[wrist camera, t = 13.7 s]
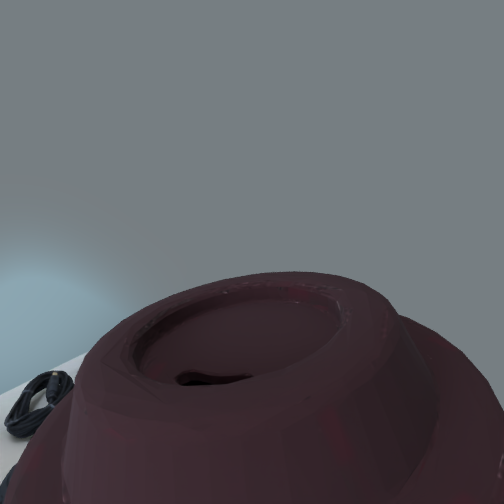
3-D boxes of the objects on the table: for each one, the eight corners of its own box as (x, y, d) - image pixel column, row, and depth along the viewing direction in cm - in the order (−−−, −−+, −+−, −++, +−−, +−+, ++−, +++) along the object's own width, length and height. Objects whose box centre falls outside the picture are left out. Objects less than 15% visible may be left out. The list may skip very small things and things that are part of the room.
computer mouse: (5, 687, 18) (-32, 613, 16) (4, 407, 43) (-10, 370, 42) (169, 550, 23) (150, 487, 22) (81, 373, 49) (71, 339, 47)
